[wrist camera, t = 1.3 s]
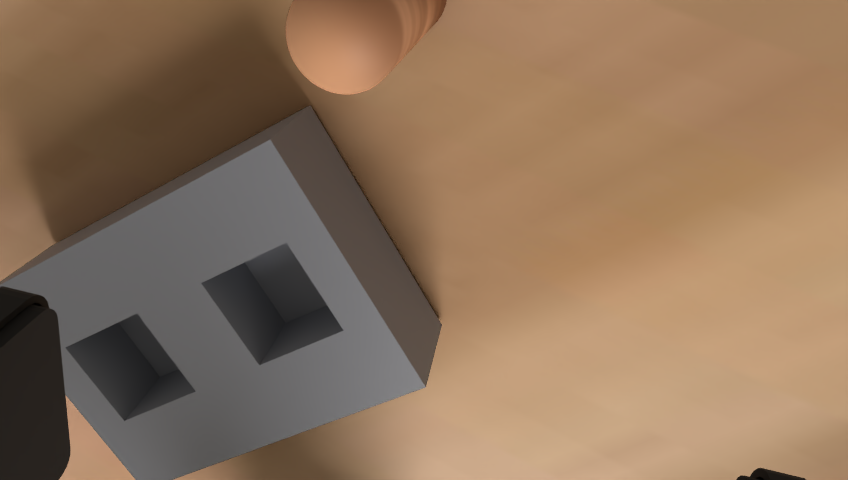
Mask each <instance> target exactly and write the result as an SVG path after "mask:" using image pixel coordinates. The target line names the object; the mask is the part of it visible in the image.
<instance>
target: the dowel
mask: <svg viewBox="0 0 848 480" xmlns="http://www.w3.org/2000/svg"><path fill="white" fill-rule="evenodd" d="M445 5H446V0H294V1H293V2H292V4H291V6H290V9H289V11H288V15H287V20H286V40H287V45H288V49H289V52H290V54H291V57H292V59H293V61H294V63H295V64H296V66H297V67H298V69H299V70H300V71H301V73H302V74H303V75H304V76H305V77H306V78H307V79H308V80H309V81H311V82H312V83H313V84H315V85H316V86H318V87H320V88H322V89H324V90H326V91H329V92H332V93H336V94H357V93H361V92H364V91H367V90H369V89H371V88H373V87H374V86H376V85H378V84H379V83H380V82H381V81H382V80H383V79H384V78H385V77H386V76H387V75H388V74H389V73H390V72H391V71H392V70H393V68H394V67H395V66H396V65H397V64H398V63H399V62H400V61H401V60H402V59H403V58H404V57H405V55H406V54H407V53H408V52H409V51H410V50H411V49H412V48H413V47H414V46H415V45H416V44H417V42H418V41H419V40H420V39H421V38H422V37H423V36H424V35H425V34H426V33H427V32H428V31H429V29H430V28H431V27H432V26H433V25H434V24H435V23H436V22H437V21H438V19H439V18H440V17H441V15H442V13H443V11H444V8H445Z"/></svg>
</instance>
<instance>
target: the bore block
mask: <svg viewBox="0 0 848 480" xmlns="http://www.w3.org/2000/svg"><path fill="white" fill-rule="evenodd" d="M2 286H4V287H8V288H13V289H17V290H21V291H25V292H29V293H33V294H38V295H41V296H43V297H45V299H46V300H47V301H48V305H49V308H50V309H53V310H55V312H56V313H57V317H58V324H59V335H60V345H61V356H62V366H63V377H64V387H65V395H66V396H67V397H68V398H69V399H70V401H71V402H72V403H73V404H74V406H75V407H76V408H77V409H78V410H79V412H80V413H81V414H82V415H83V416H84V418H85V419H86V420H87V421H88V422H89V424H90V425H91V426H92V427H93V429H94V430H95V431H96V432H97V433H98V435H99V436H100V437H101V438H102V439H103V441H104V442H105V443H106V444H107V445H108V447H109V448H110V449H111V450H112V452H113V453H114V454H115V455H116V456H117V458H118V459H119V460H120V461H121V462H122V464H123V465H124V466H125V467H126V468H127V470H128V471H129V472H130V473H131V475H132V476H133V477H134V478H135V479H136V480H173V479H176V478H178V477H181V476H184V475H187V474H189V473H192V472H195V471H198V470H200V469H203V468H206V467H208V466H211V465H214V464H217V463H219V462H222V461H225V460H228V459H230V458H233V457H236V456H239V455H241V454H244V453H247V452H250V451H252V450H255V449H258V448H261V447H263V446H266V445H269V444H272V443H274V442H277V441H280V440H282V439H285V438H288V437H291V436H293V435H296V434H299V433H302V432H304V431H307V430H310V429H313V428H315V427H318V426H321V425H324V424H326V423H329V422H332V421H335V420H337V419H340V418H343V417H346V416H348V415H351V414H354V413H356V412H359V411H362V410H365V409H367V408H370V407H373V406H376V405H378V404H381V403H384V402H387V401H389V400H392V399H395V398H398V397H400V396H403V395H406V394H409V393H411V392H414V391H417V390H420V389H422V388H425V387H426V384H427V380H428V377H429V373H430V369H431V365H432V361H433V357H434V353H435V349H436V345H437V342H438V338H439V334H440V330H441V326H442V324H441V323H440V321H439V319H438V318H437V316H436V314H435V313H434V311H433V309H432V308H431V306H430V304H429V303H428V301H427V299H426V298H425V296H424V294H423V293H422V291H421V289H420V288H419V286H418V284H417V283H416V281H415V279H414V278H413V276H412V274H411V273H410V271H409V269H408V268H407V266H406V264H405V263H404V261H403V259H402V258H401V256H400V254H399V253H398V251H397V249H396V248H395V246H394V244H393V243H392V241H391V239H390V237H389V236H388V234H387V232H386V231H385V229H384V227H383V226H382V224H381V222H380V221H379V219H378V217H377V216H376V214H375V212H374V211H373V209H372V207H371V206H370V204H369V202H368V201H367V199H366V197H365V196H364V194H363V192H362V191H361V189H360V187H359V186H358V184H357V182H356V181H355V179H354V177H353V176H352V174H351V172H350V171H349V169H348V167H347V166H346V164H345V162H344V161H343V159H342V157H341V156H340V154H339V152H338V151H337V149H336V147H335V146H334V144H333V142H332V141H331V139H330V137H329V136H328V134H327V132H326V131H325V129H324V127H323V126H322V124H321V122H320V121H319V119H318V117H317V116H316V114H315V112H314V111H313V109H312V107H311V106H310V105H309V106H308V107H306V108H304V109H302V110H300V111H298V112H297V113H295V114H293V115H291V116H289V117H287V118H286V119H284V120H282V121H280V122H278V123H276V124H275V125H273V126H271V127H269V128H267V129H265V130H263V131H262V132H260V133H258V134H256V135H254V136H252V137H251V138H249V139H247V140H245V141H243V142H241V143H240V144H238V145H236V146H234V147H232V148H230V149H229V150H227V151H225V152H223V153H221V154H219V155H218V156H216V157H214V158H212V159H210V160H208V161H207V162H205V163H203V164H201V165H199V166H197V167H196V168H194V169H192V170H190V171H188V172H186V173H185V174H183V175H181V176H179V177H177V178H175V179H174V180H172V181H170V182H168V183H166V184H164V185H163V186H161V187H159V188H157V189H155V190H153V191H152V192H150V193H148V194H146V195H144V196H142V197H141V198H139V199H137V200H135V201H133V202H131V203H129V204H128V205H126V206H124V207H122V208H120V209H118V210H117V211H115V212H113V213H111V214H109V215H107V216H106V217H104V218H102V219H100V220H98V221H96V222H95V223H93V224H91V225H89V226H87V227H85V228H84V229H82V230H80V231H78V232H76V233H74V234H73V235H71V236H69V237H67V238H65V239H63V240H62V241H60V242H58V243H56V244H54V245H52V246H51V247H49V248H48V249H47V250H45V251H44V252H42V253H41V254H39V255H38V256H36V257H35V258H34V259H32V260H31V261H29V262H28V263H26V264H25V265H24V266H22V267H21V268H19V269H18V270H16V271H15V272H14V273H12V274H11V275H9V276H8V277H6V278H5V279H4V280H2V281H1V282H0V287H2Z"/></svg>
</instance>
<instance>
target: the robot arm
mask: <svg viewBox="0 0 848 480" xmlns="http://www.w3.org/2000/svg"><path fill="white" fill-rule="evenodd" d="M69 457H70V440H69V429H68V419H67V408H66V398H65V387H64V377H63V366H62V356H61V345H60V335H59V324H58V317H57V313H56V312H55V310H53V309H50V308H49V305H48V301H47V300H46V299H45V297H43V296H41V295H38V294H33V293H29V292H25V291H21V290H17V289H13V288H8V287H4V286H2V287H0V480H59V478H60V477H61V476H62V474H63V473H64V471H65V469H66V467H67V464H68V461H69ZM737 480H806V479H805V478H801V477H796V476H792V475H788V474H784V473H780V472H776V471H771V470H767V469H763V468H758V469H756V470H755V471H753V473H752V474H751V476H750V477H747V476H740V477H738V478H737Z"/></svg>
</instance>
